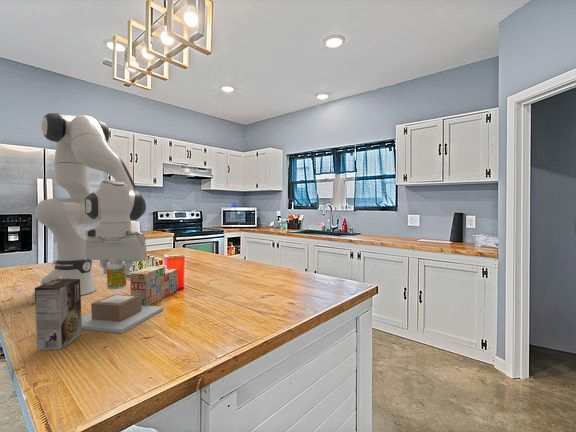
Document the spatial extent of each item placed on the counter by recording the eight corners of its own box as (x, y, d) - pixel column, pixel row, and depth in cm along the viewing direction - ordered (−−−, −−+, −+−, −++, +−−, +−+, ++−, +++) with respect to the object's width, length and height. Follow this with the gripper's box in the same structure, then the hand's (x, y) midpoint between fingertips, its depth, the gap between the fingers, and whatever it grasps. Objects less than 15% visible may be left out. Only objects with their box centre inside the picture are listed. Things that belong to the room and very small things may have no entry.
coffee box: (58, 335, 87) (57, 278, 87) (82, 334, 88) (81, 278, 87) (35, 350, 78) (33, 287, 78) (62, 349, 79) (60, 286, 78)
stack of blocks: (164, 290, 133) (164, 261, 133) (177, 290, 132) (177, 262, 132) (130, 306, 112) (129, 272, 112) (146, 307, 111) (145, 273, 111)
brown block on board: (63, 327, 93) (63, 306, 93) (114, 305, 112) (113, 288, 112) (122, 333, 89) (121, 311, 89) (163, 309, 108) (163, 292, 108)
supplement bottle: (111, 290, 96) (110, 259, 96) (104, 287, 100) (103, 257, 99) (129, 287, 100) (128, 257, 100) (122, 284, 104) (121, 255, 103)
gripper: (150, 230, 100) (151, 273, 101) (96, 230, 105) (97, 270, 105) (137, 232, 94) (138, 277, 95) (80, 231, 98) (81, 275, 99)
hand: (116, 274), depth 100 cm, fingers closed on supplement bottle, 5 cm apart
